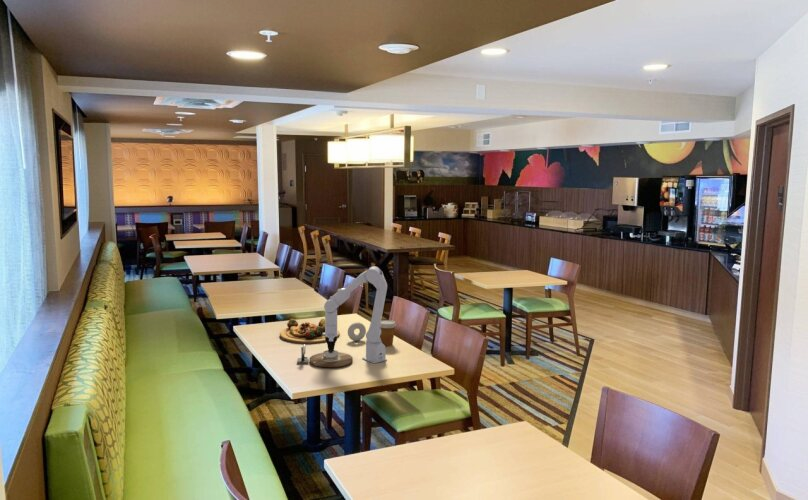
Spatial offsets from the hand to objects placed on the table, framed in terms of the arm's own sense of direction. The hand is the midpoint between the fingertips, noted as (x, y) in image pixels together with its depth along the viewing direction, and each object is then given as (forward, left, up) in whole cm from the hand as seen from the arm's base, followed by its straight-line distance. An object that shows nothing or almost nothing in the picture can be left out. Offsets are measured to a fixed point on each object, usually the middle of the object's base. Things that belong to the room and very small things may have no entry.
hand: (331, 351), depth 280 cm
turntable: (-6, +4, -3) cm, 7 cm away
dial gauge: (+2, +14, -3) cm, 15 cm away
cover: (-6, +4, -1) cm, 7 cm away
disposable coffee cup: (0, -34, -3) cm, 35 cm away
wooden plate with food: (+39, -12, -3) cm, 41 cm away
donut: (+15, -26, -3) cm, 31 cm away
